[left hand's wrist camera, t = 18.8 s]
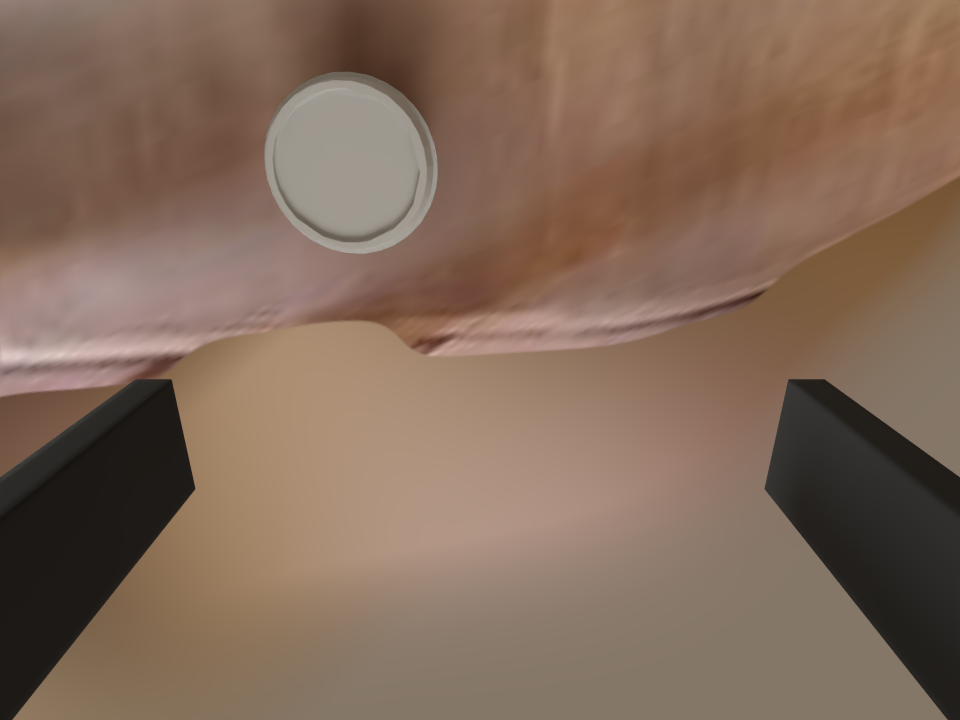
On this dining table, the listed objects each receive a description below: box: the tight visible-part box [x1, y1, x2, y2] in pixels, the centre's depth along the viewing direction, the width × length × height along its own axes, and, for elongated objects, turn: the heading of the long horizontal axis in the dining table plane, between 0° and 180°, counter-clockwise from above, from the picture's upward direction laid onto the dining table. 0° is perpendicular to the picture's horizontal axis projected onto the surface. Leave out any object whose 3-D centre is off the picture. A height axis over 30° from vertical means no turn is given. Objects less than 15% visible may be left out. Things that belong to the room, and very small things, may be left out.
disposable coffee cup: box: [264, 71, 438, 254], centre depth 36 cm, size 10×10×12 cm
